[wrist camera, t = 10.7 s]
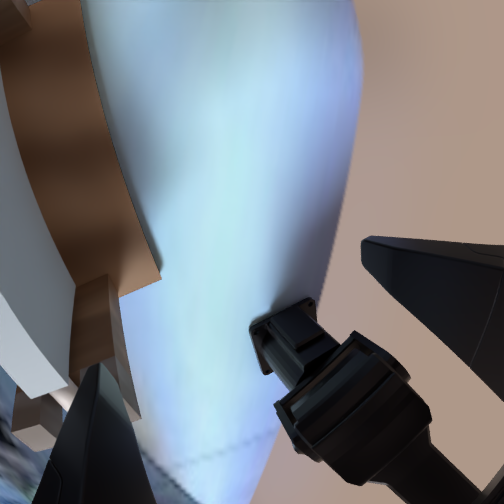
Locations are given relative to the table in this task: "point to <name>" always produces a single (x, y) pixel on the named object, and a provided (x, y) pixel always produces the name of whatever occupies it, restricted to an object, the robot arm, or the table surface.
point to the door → (31, 284)
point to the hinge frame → (72, 195)
